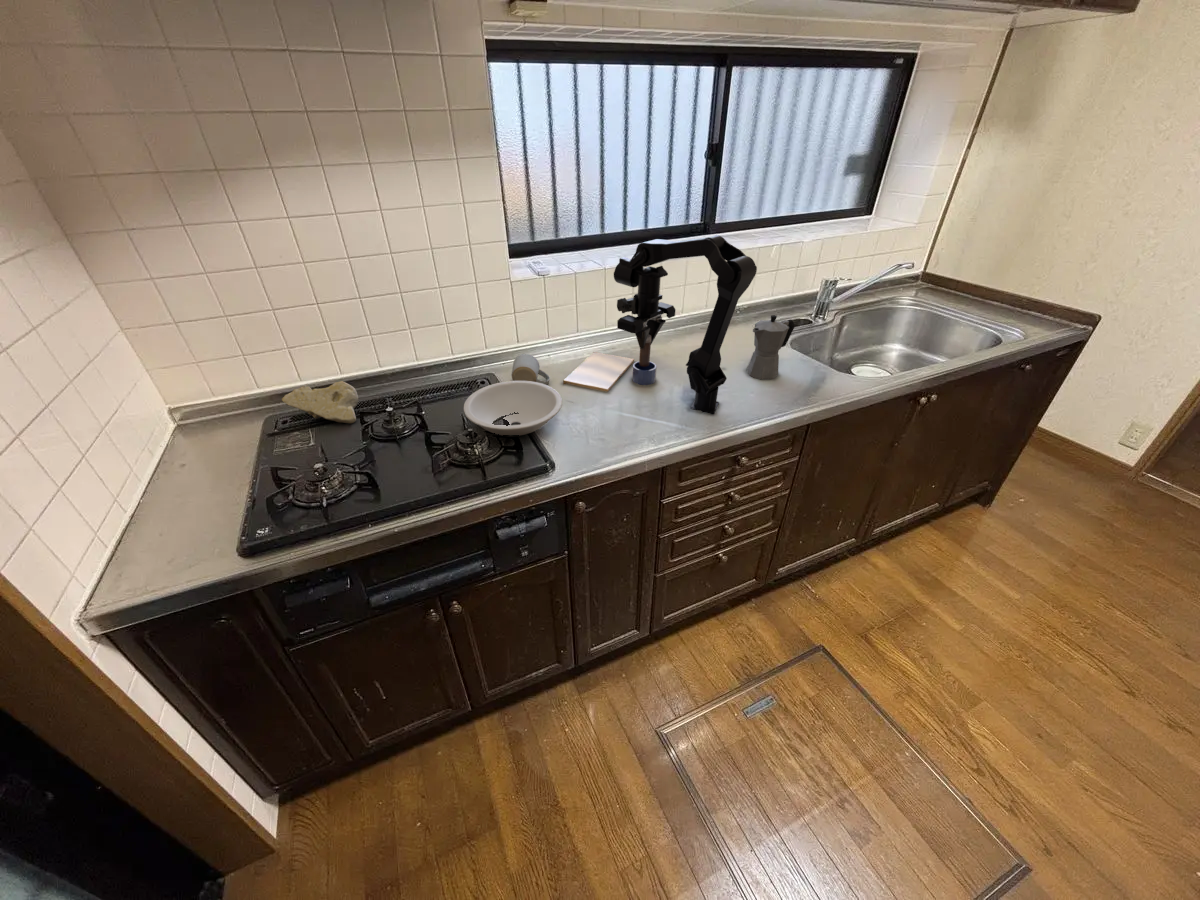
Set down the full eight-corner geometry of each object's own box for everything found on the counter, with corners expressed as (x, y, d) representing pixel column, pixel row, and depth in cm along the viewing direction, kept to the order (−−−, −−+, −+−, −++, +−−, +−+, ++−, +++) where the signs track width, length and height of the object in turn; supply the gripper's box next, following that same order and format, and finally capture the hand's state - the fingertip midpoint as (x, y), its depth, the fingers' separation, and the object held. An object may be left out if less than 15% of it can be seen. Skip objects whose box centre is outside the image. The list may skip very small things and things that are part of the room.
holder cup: (651, 388, 143) (652, 372, 140) (628, 383, 145) (629, 368, 143) (658, 378, 148) (659, 362, 145) (636, 374, 151) (637, 359, 148)
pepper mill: (647, 367, 142) (649, 336, 137) (637, 365, 143) (638, 334, 138) (651, 363, 145) (653, 332, 139) (640, 361, 146) (642, 330, 140)
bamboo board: (607, 393, 141) (607, 389, 140) (563, 384, 145) (563, 380, 145) (634, 362, 157) (634, 358, 157) (593, 355, 162) (593, 351, 161)
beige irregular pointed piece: (376, 417, 134) (343, 373, 134) (370, 409, 127) (335, 363, 127) (324, 450, 129) (289, 404, 129) (314, 444, 122) (278, 396, 122)
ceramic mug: (512, 390, 142) (509, 365, 138) (514, 377, 149) (512, 353, 144) (549, 389, 143) (548, 365, 138) (550, 376, 149) (549, 353, 145)
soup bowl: (582, 425, 126) (582, 403, 123) (504, 465, 113) (501, 440, 109) (525, 393, 141) (523, 371, 137) (449, 424, 127) (444, 401, 123)
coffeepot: (755, 384, 146) (767, 324, 135) (734, 371, 152) (744, 313, 142) (795, 373, 151) (809, 315, 141) (773, 361, 158) (785, 305, 148)
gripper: (646, 277, 142) (643, 330, 151) (602, 292, 131) (602, 348, 140) (678, 285, 136) (673, 340, 145) (635, 302, 124) (632, 359, 133)
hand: (645, 346), depth 141 cm, fingers closed on pepper mill, 3 cm apart
